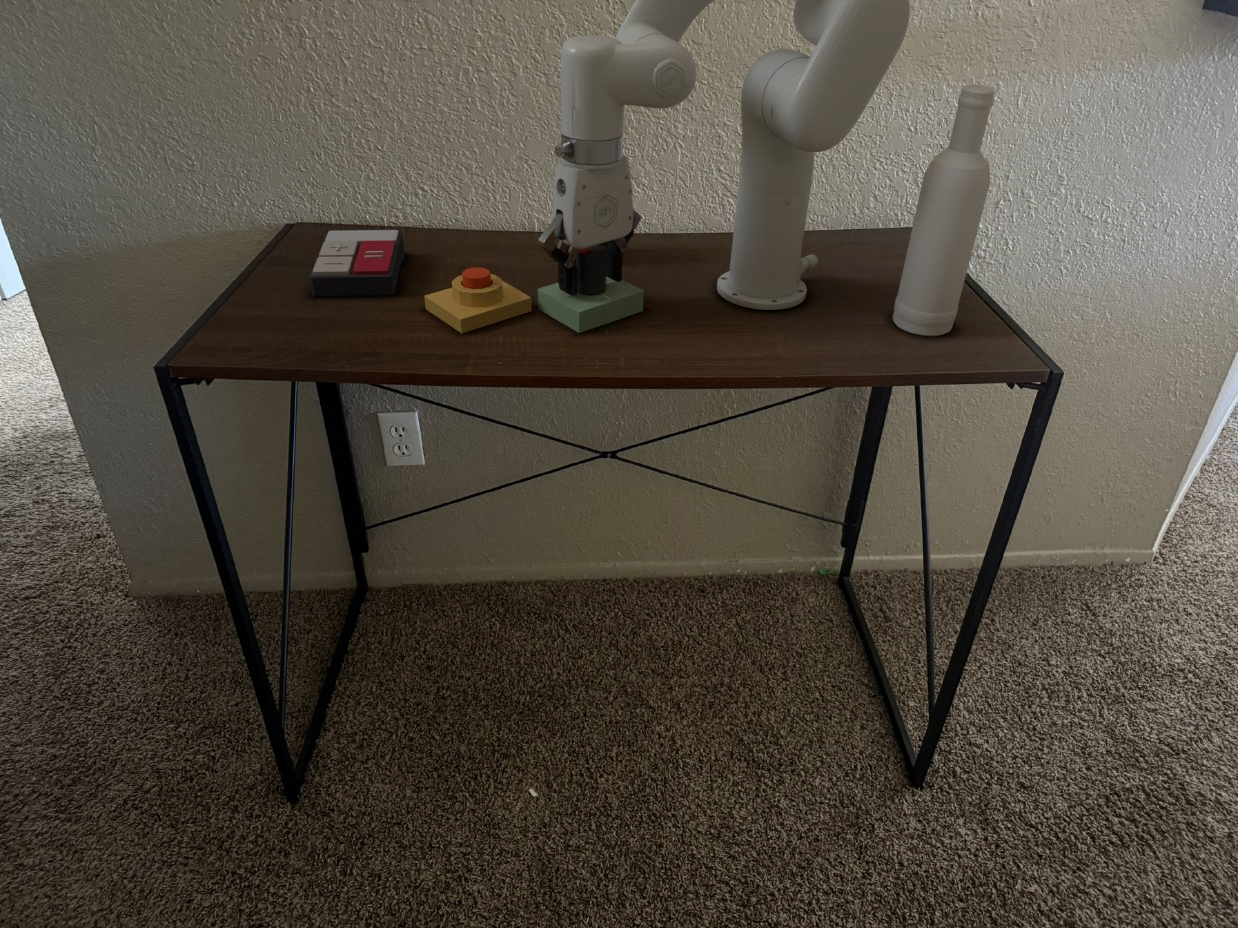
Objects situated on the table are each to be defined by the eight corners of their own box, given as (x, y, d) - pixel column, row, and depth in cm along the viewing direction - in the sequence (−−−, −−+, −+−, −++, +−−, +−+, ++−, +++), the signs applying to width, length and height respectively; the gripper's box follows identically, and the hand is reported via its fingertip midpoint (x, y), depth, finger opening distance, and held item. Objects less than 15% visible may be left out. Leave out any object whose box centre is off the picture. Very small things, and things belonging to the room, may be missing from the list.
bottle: (955, 340, 117) (1020, 98, 100) (893, 333, 119) (946, 92, 101) (949, 314, 124) (1009, 82, 107) (890, 308, 125) (940, 77, 108)
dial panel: (601, 289, 128) (601, 268, 126) (643, 311, 122) (644, 289, 120) (538, 309, 122) (537, 287, 120) (579, 333, 116) (579, 311, 114)
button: (481, 277, 121) (480, 265, 120) (496, 286, 119) (495, 274, 118) (458, 284, 119) (457, 271, 118) (472, 293, 117) (472, 280, 116)
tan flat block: (494, 289, 127) (492, 262, 124) (531, 311, 121) (531, 283, 119) (425, 309, 121) (422, 281, 119) (461, 333, 115) (459, 304, 113)
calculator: (307, 272, 121) (325, 226, 132) (313, 301, 123) (330, 253, 135) (391, 271, 122) (401, 225, 134) (394, 299, 124) (405, 253, 136)
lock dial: (593, 280, 123) (593, 239, 119) (612, 290, 120) (612, 249, 117) (569, 288, 120) (569, 246, 117) (588, 298, 118) (588, 256, 115)
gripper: (553, 168, 103) (555, 312, 113) (665, 144, 112) (658, 279, 122) (515, 153, 107) (520, 292, 117) (626, 131, 117) (622, 261, 127)
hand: (590, 284), depth 120 cm, fingers open, 6 cm apart
